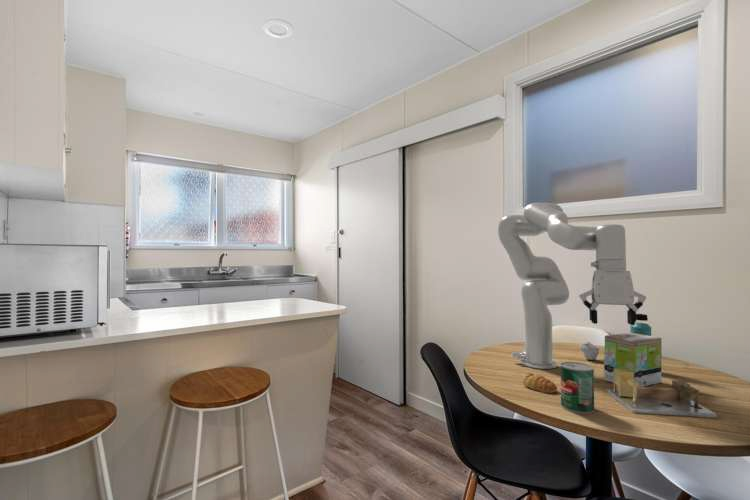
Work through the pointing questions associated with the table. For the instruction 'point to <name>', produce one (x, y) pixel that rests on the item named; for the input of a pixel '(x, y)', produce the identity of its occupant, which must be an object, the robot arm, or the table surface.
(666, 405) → the bolt plate
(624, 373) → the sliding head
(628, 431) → the table surface
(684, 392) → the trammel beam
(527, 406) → the table surface
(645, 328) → the beverage bottle
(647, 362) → the tea box
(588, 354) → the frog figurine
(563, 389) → the canned tomato
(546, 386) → the pastry
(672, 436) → the table surface
